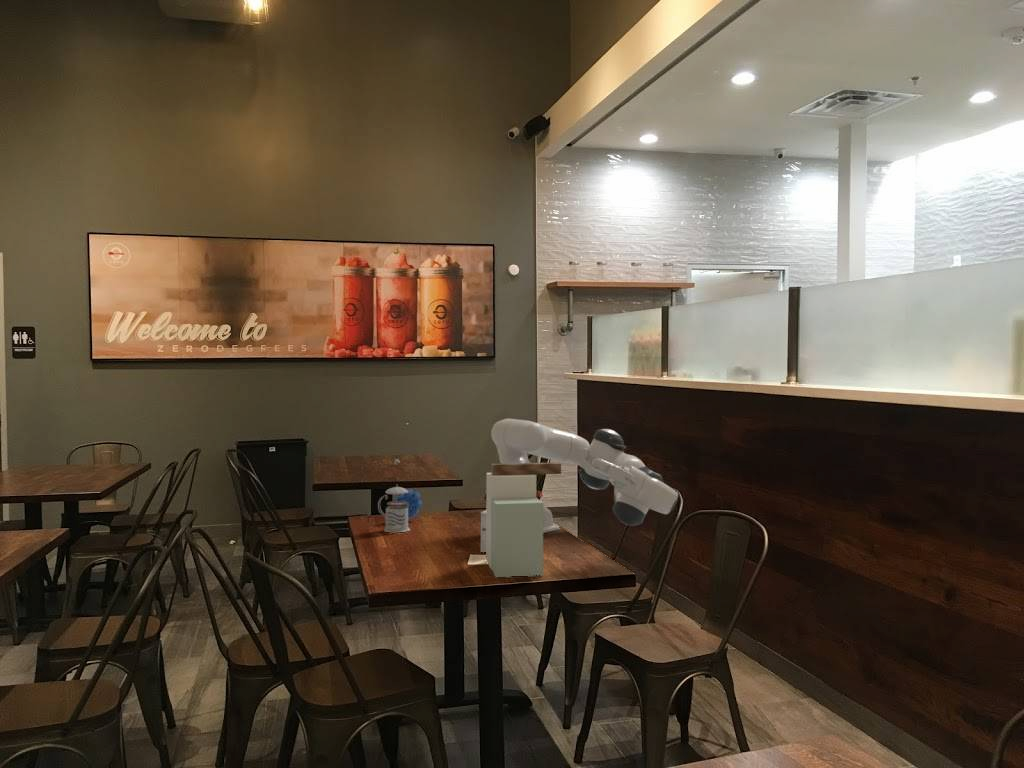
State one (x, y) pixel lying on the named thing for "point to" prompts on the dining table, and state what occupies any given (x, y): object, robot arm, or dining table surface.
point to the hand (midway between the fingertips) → (588, 459)
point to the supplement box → (483, 531)
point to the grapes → (410, 503)
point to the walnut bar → (525, 468)
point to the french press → (396, 511)
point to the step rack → (513, 526)
